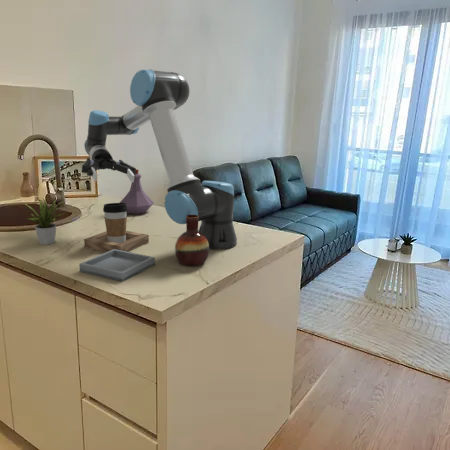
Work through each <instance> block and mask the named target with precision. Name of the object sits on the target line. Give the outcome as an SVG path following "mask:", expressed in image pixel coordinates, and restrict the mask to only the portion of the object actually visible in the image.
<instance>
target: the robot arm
mask: <svg viewBox="0 0 450 450" xmlns="http://www.w3.org/2000/svg"><path fill="white" fill-rule="evenodd" d="M129 91H130V92H129V94H130V99H131V101H132V103H133V104H135V107H133V108H132V109H131V110H129V111H127V112H126V113H125V114H123V115H121V116H109V113H108V112H106V111H103V110H97V109H95V110H92V111H90V112H89V118H88V123H87V124H88V128H87V136H86V137H87V138H86V140H84V144H83V145H84V150H85V152H86V154H87V155H88V157H87V158H86V161H85V162H84V163H83V164H82V165H81V173H82V174H83V173H84V174H85V173H86V176H90V177H92V179H93V181H94V182H97V181H98V172H97V171H99V170H111V171H114V172H115V171H117V172H120V173H123V174H125V175H126V177H127V178H128V179H129V181H130V182H131V183H132V182H134V177H135V172H136V169H137V168H136V167H134V166H132V165H130V164H128V163H127V162H124V161H123V160H122V159H119V160H118V161H116V160H114V159H113V156H112V154H111V153H110V151H109V150H108V149H107V147H106V144H107V136H119V135H120V136H123V135H125V136H130V135H135V134H137V133H138V131H139V130H140V128H141V127H142V126H144V125H145V124H147V123H149V122H150V124H151V127H152V130H153V134H154V136H155V140H156V143H157V146H158V150H159V153H160V156H161V159H162V161H163V162H162V163H163V167H164V169H165V171H166V175H167V179H168V182H169V184H168V186H167V188H166V190H167V194H166V195H165V197H164V209H165V211H166V214H167V216H168V217H169V218H170V219H171V221H173V222H175V223H176V224H178V225H186V216H187V215H198V216H199V222H200V225H199V227H198V231H199V232H200V233H202V234H203V235H204V236H205V237H206V238H207V240H208V243H209V250H210V249H211V250H226V249H231V248H234V247H235V246H237V244H238V241H237V240H238V237H237V233H236V229H235V227H234V223H233V221H234V202H235V199H234V198H235V192H234V191H235V190H234V189H235V188H234V186H233V184H231V183H229V182H223V181H215V180H203V181H202V182H201V179H200V178H198V177H196V176H195V175H194V173H193V169H192V166H191V162H190V159H189V156H188V153H187V149H186V146H185V142H184V140H183V137H182V134H181V131H180V128H179V124H178V121H177V119H176V115H175V112H174V111H175V110H177V109H179V108H180V107H182V106H183V105H185V103H186V102H187V101H188V99H189V97H190V93H191V92H190V86H189V83H188V80H187V79H186V78H185V77H184V76H183V75H181V74H180V73H177V72H172V71H162V70H153V69H140V70H138V71H136V73H135V74H134V75H133V76H132V79H131V83H130V86H129Z"/></svg>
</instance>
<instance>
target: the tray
mask: <svg viewBox="0 0 450 450" xmlns="http://www.w3.org/2000/svg"><path fill="white" fill-rule="evenodd" d="M155 262H156V261H155V256H151V255H146V254H142V253H141V254H140V253H136V252H132V251H129V252H127V251H122V250H117V249H113V250H111V251H108V252H104V253H102V254H99V255H97V256H94V257H92V258H89V259H87V260H85V261H82V262H80V263H79V264H78V265H79V272H80V273H84V274H89V275H93V276H97V277H101V278H106V279H111V280H114V281H117V280H118V282H125V281H126V280H129V279H130V278H132V277H134V276H136V275H137V274H139V273H142V272H144V271H146V270H148V269H149V268H152V267H153V266H155V264H156V263H155Z"/></svg>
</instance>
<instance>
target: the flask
mask: <svg viewBox="0 0 450 450" xmlns="http://www.w3.org/2000/svg"><path fill="white" fill-rule="evenodd" d="M141 178H142V175H141V174H140V173H139V169H137V168H136V172H135V177H134V182H131V185H130V189H129V190H128V192H127V193H126V195H125V196H124V197H123V198H122V199H121V200H120V201H119V203H126V205H127V211H126V213H127V214H130V213H132V214H133V215H134V214H135V215H140V214H139V213H141V214H145V213H147V212H148V210H149V209H150V208H151V207H152V206H153V205H154V203H155V202H154V201H153V200H152V199H151V198H150V197H149V196H148V195H147V193H146V192H145V191H144V190H143V188H142V187H143V186H142V183H141ZM146 211H147V212H146Z"/></svg>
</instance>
